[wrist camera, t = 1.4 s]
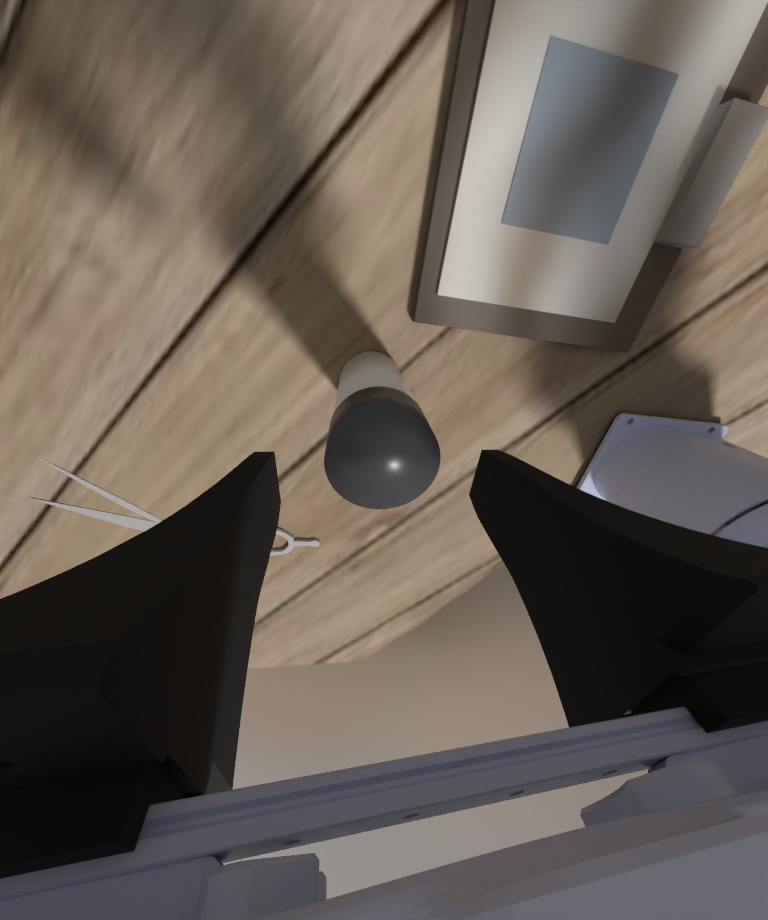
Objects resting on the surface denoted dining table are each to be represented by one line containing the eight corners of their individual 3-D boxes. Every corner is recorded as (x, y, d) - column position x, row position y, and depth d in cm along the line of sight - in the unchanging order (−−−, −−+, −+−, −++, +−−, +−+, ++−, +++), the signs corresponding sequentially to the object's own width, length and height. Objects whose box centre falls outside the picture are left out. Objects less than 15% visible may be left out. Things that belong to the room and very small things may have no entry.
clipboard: (836, -75, 12) (895, -119, 10) (620, 350, 20) (639, 355, 18) (502, -215, 10) (524, -289, 9) (412, 320, 18) (416, 323, 16)
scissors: (265, 608, 30) (13, 528, 23) (267, 601, 31) (23, 521, 23) (321, 543, 26) (38, 420, 19) (321, 536, 27) (49, 415, 19)
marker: (408, 354, 19) (452, 415, 10) (397, 416, 21) (426, 511, 12) (340, 345, 18) (326, 403, 10) (336, 410, 20) (322, 506, 12)
